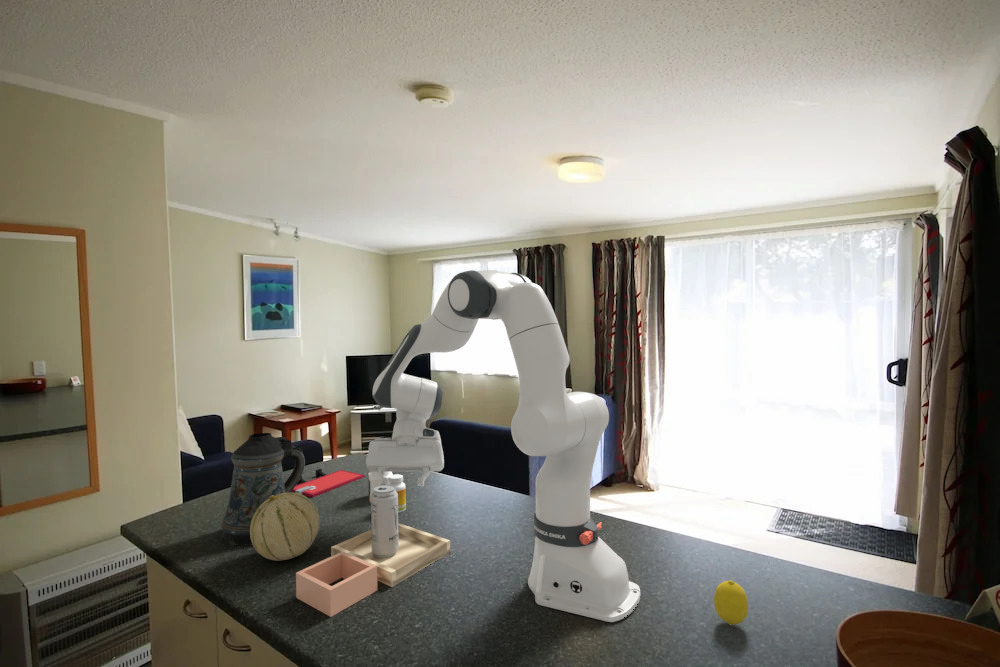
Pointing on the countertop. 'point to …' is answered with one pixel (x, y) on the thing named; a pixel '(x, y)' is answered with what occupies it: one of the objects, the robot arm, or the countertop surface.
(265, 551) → the cantaloupe
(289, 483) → the beer stein
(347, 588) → the frame
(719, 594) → the lemon
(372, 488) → the white upright blocky piece
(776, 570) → the countertop surface
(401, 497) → the supplement bottle
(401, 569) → the tray
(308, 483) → the red board with handle
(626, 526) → the countertop surface
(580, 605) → the robot arm
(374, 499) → the energy drink can
